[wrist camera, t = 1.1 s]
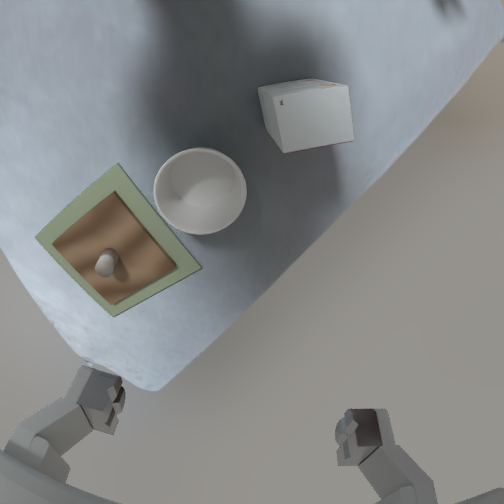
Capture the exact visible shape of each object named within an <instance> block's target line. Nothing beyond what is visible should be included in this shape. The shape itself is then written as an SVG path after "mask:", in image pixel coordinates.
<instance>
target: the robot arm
mask: <svg viewBox="0 0 504 504" xmlns="http://www.w3.org/2000/svg"><path fill="white" fill-rule="evenodd" d="M121 384H122V379H121V376H117V375H113V374H110V373H106V372H103V371H99V370H97V369H94V368H90V367H87V366H82V367H80V369H79V370H78V372H77V374H76V376H75V378H74V380H73V382H72V384H71V386H70V388H69V390H68V392H67V394H66V396H65V398H64V399H63V398H60V399H58V400H56V401H55V402H53V403H51V404H50V405H48V406H47V407H45V408H43V409H41V410H40V411H38V412H36V413H35V414H33V415H31V416H30V417H28V418H26V419H24V420H23V421H21V422H19V423H18V424H16V426H15V428H14V430H13V433H12V434H11V436H10V438H9V441H8V443H7V445H6V447H5V449H4V451H2V450H0V504H120V503H117V502H114V501H111V500H108V499H105V498H102V497H99V496H97V495H94V494H91V493H88V492H85V491H83V490H80V489H78V488H76V487H73V486H71V485H69V484H66V480H67V477H68V474H69V471H70V467H69V465H68V464H67V463H66V462H65V460H64V459H63V458H62V457H61V456H62V455H63V454H64V453H65V452H67V451H68V450H69V449H70V448H72V447H73V446H74V445H75V444H77V443H78V442H79V441H80V440H82V439H83V438H84V437H85V436H87V435H88V434H89V433H90V432H92V431H93V429H94V430H98V431H101V432H104V433H108V434H111V435H114V432H115V429H116V427H117V424H118V418H117V416H116V415H117V414H119V413H120V412H122V410H123V407H124V403H125V390H124V388H123V387H122V386H121ZM335 438H336V439H335V440H336V442H337V443H338V444H339V446H340V447H339V449H338V450H337V460H338V466H358V467H359V469H360V470H361V472H362V473H363V474H364V476H365V477H366V479H367V480H368V481H369V483H370V484H371V486H372V487H373V488H374V490H375V491H376V493H377V494H378V495H379V497H380V498H381V500H380V501H379V502H377V503H375V504H438V503H437V499H436V493H435V488H434V483H433V480H432V479H431V478H430V477H429V476H428V475H427V474H426V473H425V472H424V471H423V470H422V469H421V468H420V467H419V466H418V465H417V464H416V463H415V461H413V459H412V458H411V457H409V455H408V454H407V453H406V452H405V451H404V450H403V449H402V448H401V447H400V446H399V445H395V440H394V436H393V431H392V427H391V423H390V418H389V414H388V411H387V410H386V409H348V410H347V411H346V412H345V417H344V418H342V419H340V420H339V422H338V423H337V426H336V430H335ZM455 504H504V488H496V489H493V490H491V491H488V492H486V493H483V494H481V495H478V496H475V497H473V498H470V499H467V500H464V501H461V502H458V503H455Z"/></svg>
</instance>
